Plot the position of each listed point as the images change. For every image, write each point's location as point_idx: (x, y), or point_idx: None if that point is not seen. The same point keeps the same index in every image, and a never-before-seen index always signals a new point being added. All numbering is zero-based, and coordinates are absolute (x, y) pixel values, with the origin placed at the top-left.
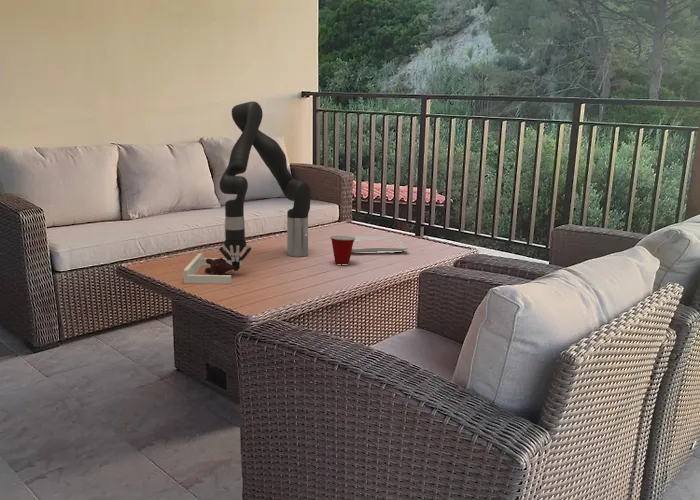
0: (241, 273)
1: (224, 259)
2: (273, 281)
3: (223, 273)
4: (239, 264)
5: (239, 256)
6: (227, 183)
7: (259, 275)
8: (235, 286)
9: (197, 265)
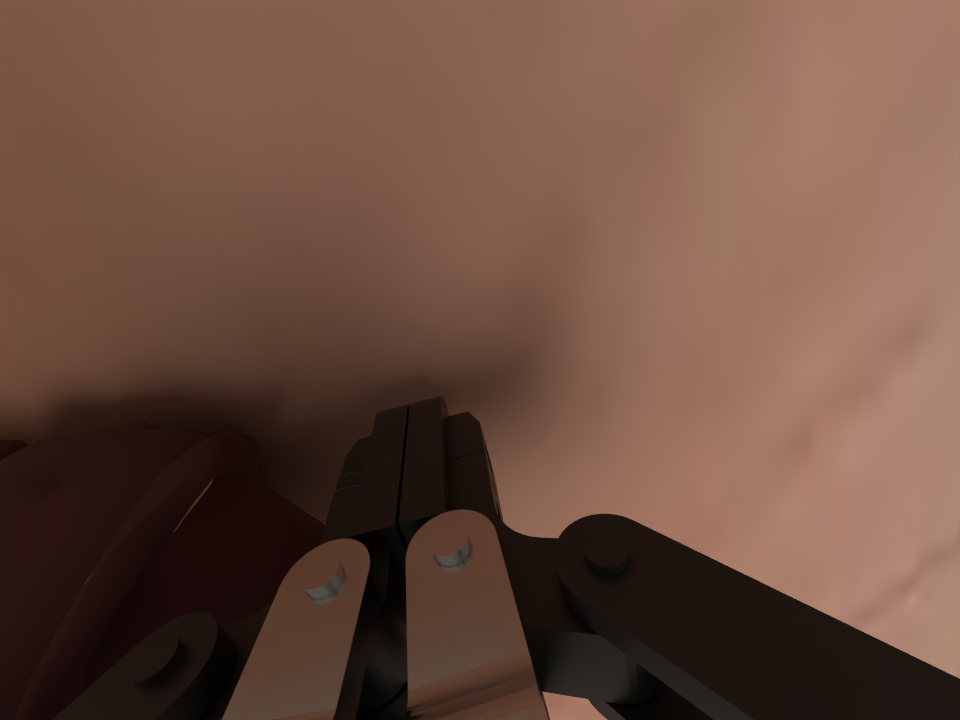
0: (477, 327)
1: (65, 634)
2: (905, 502)
3: (254, 475)
4: (498, 502)
5: (514, 644)
6: None
7: (754, 344)
8: (576, 699)
9: None
